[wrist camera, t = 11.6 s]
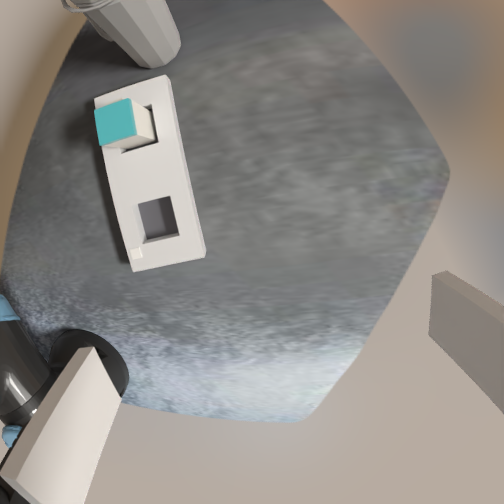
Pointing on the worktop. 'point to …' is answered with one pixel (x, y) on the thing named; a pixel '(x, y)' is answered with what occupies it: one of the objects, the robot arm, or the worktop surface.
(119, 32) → the water bottle
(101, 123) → the plug
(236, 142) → the worktop surface
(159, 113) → the panel
